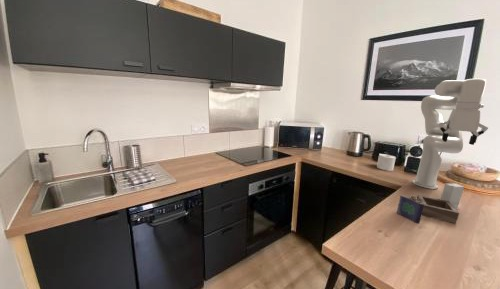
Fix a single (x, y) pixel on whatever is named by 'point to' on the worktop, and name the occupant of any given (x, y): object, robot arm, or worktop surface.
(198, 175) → the worktop surface
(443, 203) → the holder
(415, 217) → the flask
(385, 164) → the toilet tissue
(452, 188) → the skincare box
